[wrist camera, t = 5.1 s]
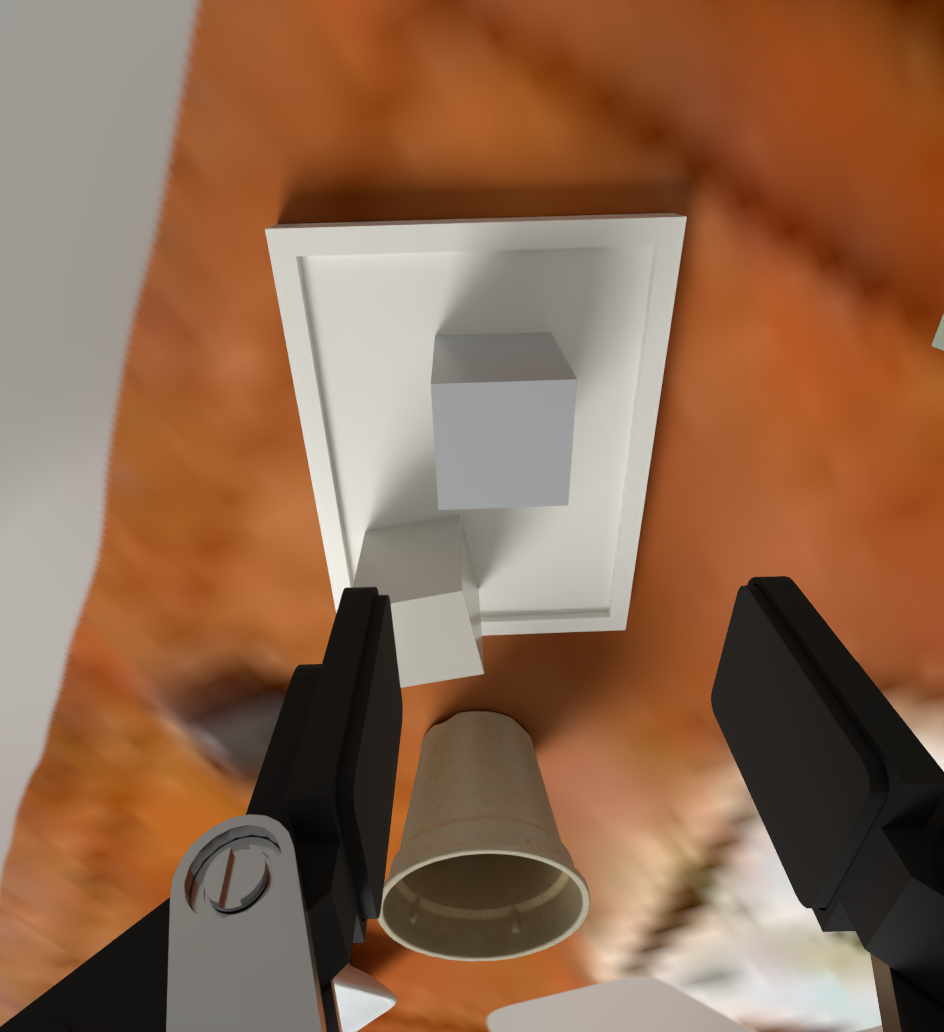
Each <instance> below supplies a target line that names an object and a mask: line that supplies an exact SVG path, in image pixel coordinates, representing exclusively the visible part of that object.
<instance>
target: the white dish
mask: <svg viewBox="0 0 944 1032" xmlns="http://www.w3.org/2000/svg"><path fill="white" fill-rule="evenodd" d="M686 219H687V217H686V216H683V215H679V214H675V213H648V214H613V215H579V216H544V217H510V218H475V219H441V220H406V221H372V222H337V223H303V224H276V225H273V226H271V227H269V228H266V229H265V232H266V237H267V243H268V248H269V253H270V259H271V264H272V270H273V275H274V280H275V286H276V291H277V296H278V302H279V307H280V313H281V318H282V323H283V329H284V334H285V339H286V345H287V350H288V356H289V361H290V366H291V372H292V377H293V382H294V388H295V393H296V399H297V404H298V409H299V415H300V420H301V426H302V431H303V436H304V442H305V447H306V452H307V458H308V463H309V469H310V474H311V479H312V485H313V490H314V495H315V501H316V506H317V512H318V517H319V522H320V528H321V533H322V538H323V544H324V549H325V555H326V560H327V565H328V571H329V576H330V582H331V587H332V592H333V598H334V603H335V608H336V614H337V610H338V607H339V603H340V599H341V596H342V593H343V590H344V588H349V587H353V583H354V579H355V574H356V570H357V565H358V561H359V557H360V552H361V548H362V543H363V539H364V534H365V531H370V530H376V529H381V528H386V527H392V526H397V525H402V524H407V523H413V522H418V521H423V520H429V519H434V518H439V517H445V516H450V515H455V514H460V515H461V520H462V524H463V528H464V532H465V536H466V540H467V544H468V548H469V552H470V556H471V560H472V564H473V568H474V572H475V576H476V580H477V584H478V588H479V601H480V616H481V632H482V636H485V635H510V634H536V633H562V632H588V631H614V630H626V624H627V617H628V610H629V603H630V597H631V590H632V583H633V576H634V570H635V563H636V556H637V549H638V543H639V536H640V529H641V522H642V516H643V509H644V502H645V495H646V489H647V482H648V475H649V468H650V462H651V455H652V448H653V442H654V435H655V428H656V421H657V415H658V408H659V401H660V394H661V388H662V381H663V374H664V367H665V361H666V354H667V347H668V340H669V334H670V327H671V320H672V313H673V307H674V300H675V293H676V286H677V280H678V273H679V266H680V259H681V253H682V246H683V239H684V232H685V226H686ZM540 332H551V333H552V335H553V337H554V339H555V340H556V342H557V344H558V346H559V348H560V349H561V351H562V353H563V355H564V357H565V358H566V360H567V362H568V364H569V366H570V367H571V369H572V371H573V373H574V374H575V376H576V378H577V389H576V403H575V417H574V431H573V445H572V459H571V473H570V487H569V501H568V505H567V506H539V507H511V508H483V509H455V510H438V494H437V478H436V462H435V445H434V429H433V413H432V397H431V375H432V363H433V352H434V340H435V336H446V335H477V334H509V333H540Z"/></svg>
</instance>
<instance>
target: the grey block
mask: <svg viewBox="0 0 944 1032" xmlns="http://www.w3.org/2000/svg"><path fill="white" fill-rule="evenodd" d="M576 389H577V378H576V376H575V374H574V373H573V371H572V369H571V367H570V366H569V364H568V362H567V360H566V358H565V357H564V355H563V353H562V351H561V349H560V348H559V346H558V344H557V342H556V340H555V339H554V337H553V335H552V333H551V332H540V333H509V334H477V335H446V336H435V340H434V352H433V363H432V375H431V397H432V413H433V429H434V445H435V462H436V478H437V494H438V510H455V509H483V508H511V507H539V506H567V505H568V501H569V487H570V473H571V459H572V445H573V431H574V417H575V403H576Z"/></svg>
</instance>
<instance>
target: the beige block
mask: <svg viewBox="0 0 944 1032" xmlns="http://www.w3.org/2000/svg"><path fill="white" fill-rule="evenodd" d="M353 587H377V589H378V593H379V595H389V597H390V604H391V612H392V620H393V629H394V637H395V645H396V654H397V662H398V670H399V679H400V687H401V688H402V687H408V686H414V685H420V684H426V683H432V682H438V681H444V680H450V679H456V678H462V677H468V676H474V675H480V674H484V663H483V647H482V632H481V616H480V601H479V588H478V584H477V580H476V576H475V572H474V568H473V564H472V560H471V556H470V552H469V548H468V544H467V540H466V536H465V532H464V528H463V524H462V520H461V515H460V514H455V515H450V516H445V517H439V518H434V519H429V520H423V521H418V522H413V523H407V524H402V525H397V526H392V527H386V528H381V529H376V530H370V531H365V534H364V539H363V543H362V548H361V552H360V557H359V561H358V565H357V570H356V574H355V579H354V583H353Z"/></svg>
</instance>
